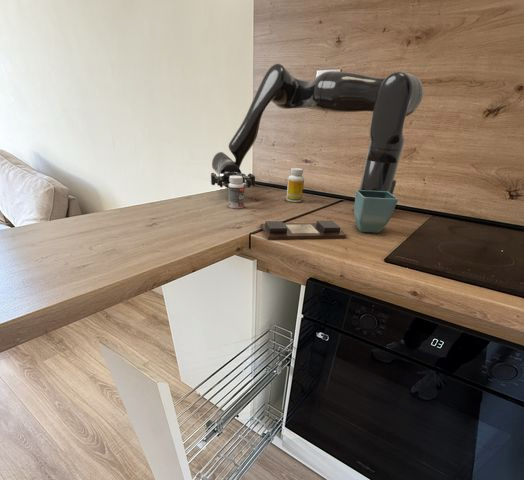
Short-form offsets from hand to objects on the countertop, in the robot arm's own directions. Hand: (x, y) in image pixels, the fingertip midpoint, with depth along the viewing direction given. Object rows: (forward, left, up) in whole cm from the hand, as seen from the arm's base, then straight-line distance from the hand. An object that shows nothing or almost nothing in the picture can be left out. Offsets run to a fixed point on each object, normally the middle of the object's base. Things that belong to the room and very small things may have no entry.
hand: (235, 183), depth 94 cm
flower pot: (-33, +27, -6) cm, 43 cm away
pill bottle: (0, +3, -6) cm, 7 cm away
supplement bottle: (-21, -5, -6) cm, 22 cm away
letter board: (-14, +28, -6) cm, 32 cm away
